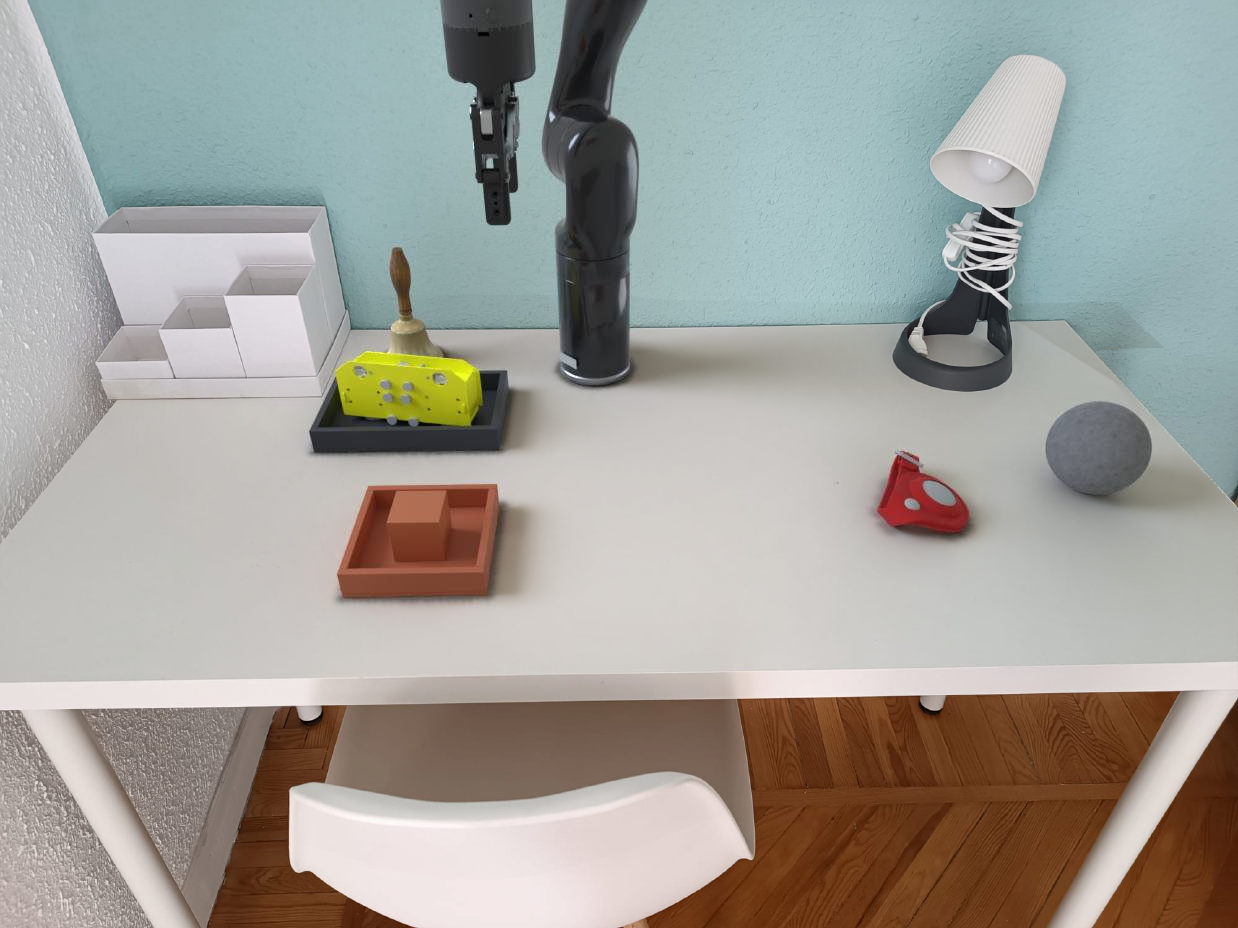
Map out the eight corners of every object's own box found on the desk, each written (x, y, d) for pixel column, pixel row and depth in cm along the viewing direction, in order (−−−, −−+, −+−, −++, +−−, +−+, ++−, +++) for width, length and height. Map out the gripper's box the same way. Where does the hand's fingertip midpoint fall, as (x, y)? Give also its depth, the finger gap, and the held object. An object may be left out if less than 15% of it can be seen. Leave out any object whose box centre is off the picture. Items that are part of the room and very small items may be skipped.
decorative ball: (1021, 458, 101) (1046, 383, 95) (1109, 459, 100) (1140, 384, 94) (1053, 512, 92) (1082, 434, 87) (1149, 514, 92) (1185, 436, 86)
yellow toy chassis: (343, 422, 106) (330, 362, 101) (362, 398, 111) (350, 339, 106) (470, 434, 104) (462, 373, 99) (484, 409, 108) (477, 349, 104)
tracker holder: (992, 512, 91) (935, 528, 85) (968, 540, 93) (911, 558, 88) (913, 435, 97) (855, 445, 92) (892, 464, 100) (835, 476, 94)
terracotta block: (403, 529, 90) (396, 490, 87) (452, 528, 90) (446, 490, 87) (394, 561, 86) (386, 522, 83) (445, 561, 86) (439, 522, 83)
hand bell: (396, 343, 124) (378, 235, 114) (452, 348, 122) (438, 239, 113) (372, 372, 117) (350, 259, 108) (430, 378, 116) (413, 264, 106)
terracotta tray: (372, 507, 94) (367, 485, 92) (499, 505, 94) (497, 483, 92) (342, 597, 83) (336, 574, 81) (486, 595, 83) (483, 572, 81)
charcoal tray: (341, 392, 113) (337, 372, 111) (508, 390, 113) (507, 370, 111) (314, 452, 102) (308, 431, 100) (499, 450, 102) (497, 429, 100)
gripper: (453, 2, 78) (472, 183, 88) (428, 32, 67) (453, 236, 76) (537, 2, 78) (546, 182, 88) (527, 31, 67) (539, 235, 76)
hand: (503, 207), depth 82 cm, fingers open, 8 cm apart
